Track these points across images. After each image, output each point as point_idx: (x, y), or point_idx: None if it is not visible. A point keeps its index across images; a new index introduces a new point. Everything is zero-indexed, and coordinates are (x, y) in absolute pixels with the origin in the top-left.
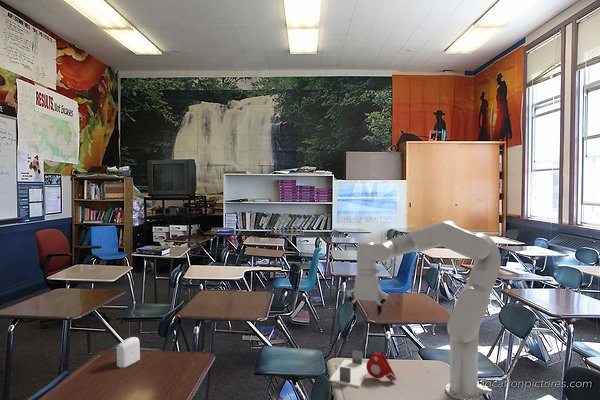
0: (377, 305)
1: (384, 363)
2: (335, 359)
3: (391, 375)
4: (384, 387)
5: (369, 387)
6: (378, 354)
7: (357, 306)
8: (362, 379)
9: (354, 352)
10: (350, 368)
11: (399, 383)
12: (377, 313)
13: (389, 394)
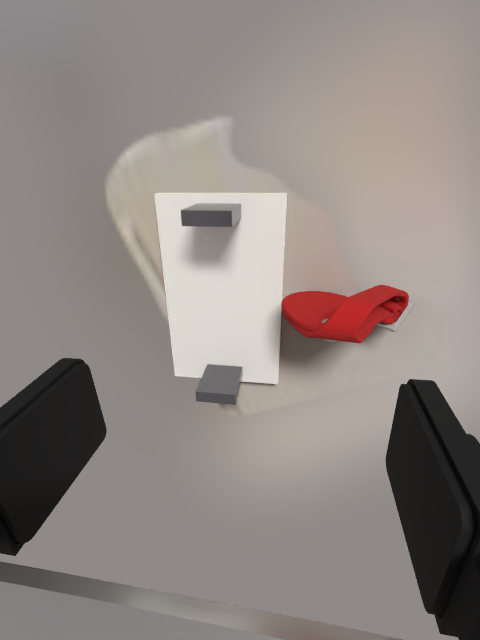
0: (433, 603)
1: (370, 328)
2: (112, 182)
3: (394, 321)
4: (360, 345)
5: (308, 360)
6: (344, 336)
7: (42, 404)
8: (278, 344)
9: (194, 225)
10: (234, 395)
11: (418, 299)
12: (391, 482)
13: (380, 381)
